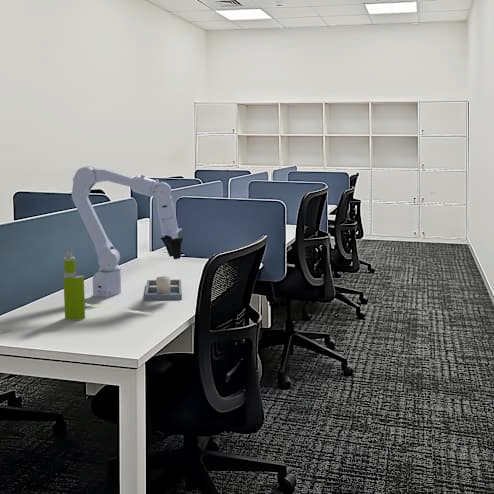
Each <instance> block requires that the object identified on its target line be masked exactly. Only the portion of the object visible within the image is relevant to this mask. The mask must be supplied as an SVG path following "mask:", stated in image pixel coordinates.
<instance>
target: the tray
mask: <svg viewBox="0 0 494 494" xmlns="http://www.w3.org/2000/svg"><path fill="white" fill-rule="evenodd" d="M170 293H171V294H157V285H156V279H147V281H146V286H145V292H144V301H173V300H176V301H178V300H179V301H181V300H183V291H182V279H170Z"/></svg>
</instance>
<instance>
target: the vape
mask: <svg viewBox="0 0 494 494" xmlns="http://www.w3.org/2000/svg"><path fill="white" fill-rule="evenodd" d="M63 269H64V271H63V274H64V275H63V299H64V302H63V303H64V319H65V320H71V321H72V320H73V321H80V320H85V319H86V305H85V277H84V275H83V274H82V275H81V274H80V275H79V274H77V271H76V257H75V256H73V251H72V250H67V251H66V256H64V257H63Z"/></svg>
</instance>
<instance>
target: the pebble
mask: <svg viewBox="0 0 494 494" xmlns="http://www.w3.org/2000/svg"><path fill="white" fill-rule="evenodd" d="M155 280H156V285H157V294H171V293H170V280H171V276H157V277H156V279H155Z"/></svg>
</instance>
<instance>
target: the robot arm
mask: <svg viewBox="0 0 494 494" xmlns="http://www.w3.org/2000/svg"><path fill="white" fill-rule="evenodd" d="M101 182H110V183H113V184H118V185H121V186H126V187H130V189H131V191H132V192H133V193H136V194H139V195H143V196H147V197H151V198H152V197H154V198H155V200H156V201H155V202H156V209H157V214H158V220H159V225H160V230H161V231H160V235H161V237H160V240H161V241H162V242H163V244H164V246H165V248H166V251H167V254H168V256H169V257H170V258H171V257H172V258H173V260H178V259H179V260H180V259H181V257H182V255H181V254H182V250H181V249H182V248H181V247H182V243H183V239H184V238H183V237H182V236H181V237H179V233H180V232H181V231H183V229H182V228H179V226H178V219H177V215H176V211H175V204H174V201H173V197H172V188H171V186H170V184H168V183H167V182H165V181H160V180H159V179H152V178H149V177H146V175H145V174H141V175H136V176H134V177H131V176H128V175H125V174H122V173H119V172H116V171H114V170H109V169H107V168H102V167H94V166H91V165H89V166H83V167H80V168H78V169H77V170H76V172H75V174H74V176H73V178H72V189H71V190H72V191H71V199H72V202H73V204H74V205H75V208H76V210H77V212H78V215H79V216H80V218H81V220H82V222H83V223H84V224H83V225H84V227H85V229H86V230H87V233H88V234H89V236H90V239H91V241H92V242H93V244H94V248H95V249H94V250H95V253H96V255H97V262H98V266H99V267H98V271H97V272H96V273H94V275H93V276H92V294H91V295H90V296H91V297H95V296H96V297H102V298H103V297H104V298H109V297H111V296H117V295H121V293H122V277H121V276H122V274H121V273H122V271H121V267H120V265H119V263H120V261H121V253H120V252H119V250H118V249H116V248H115V246H114V244H112V242H111V241H110V240H109V238H108V236H107V234H106V232H105V230H104V228H103V225H102V223H101V221H100V219H99V218H98V215H97V213H96V211H95V209H94V207H93V205H92V203H91V200H90V198H89V196H90V193H91V191H92V188H93V186H95V185H96V184H98V183H101Z"/></svg>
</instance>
